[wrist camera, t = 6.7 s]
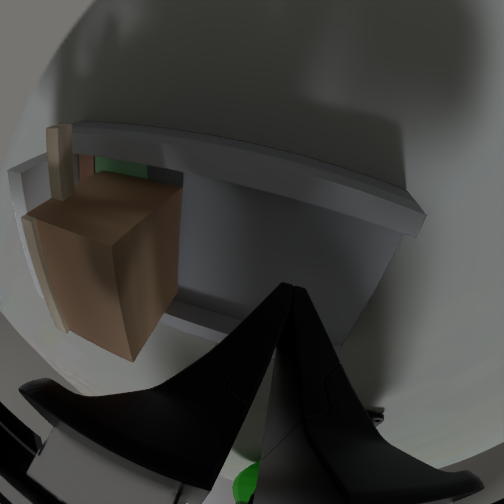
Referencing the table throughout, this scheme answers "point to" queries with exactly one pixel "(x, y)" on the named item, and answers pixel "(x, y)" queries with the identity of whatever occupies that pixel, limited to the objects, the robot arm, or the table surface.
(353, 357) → the table surface
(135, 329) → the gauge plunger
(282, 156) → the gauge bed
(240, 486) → the plastic bottle
